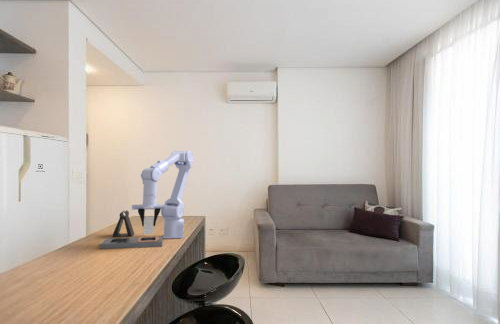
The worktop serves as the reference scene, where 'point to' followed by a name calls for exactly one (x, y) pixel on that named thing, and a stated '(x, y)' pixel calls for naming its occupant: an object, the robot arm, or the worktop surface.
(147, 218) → the block
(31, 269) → the worktop surface
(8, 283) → the worktop surface
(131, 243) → the rail plate
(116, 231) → the phone stand
